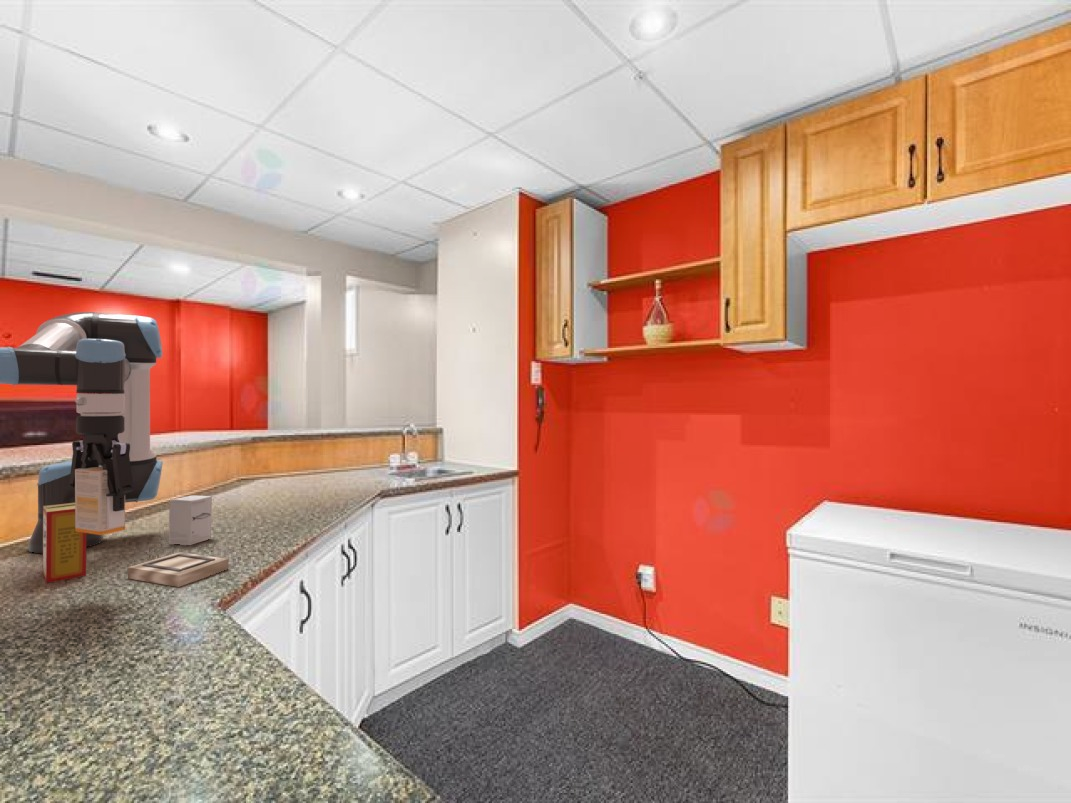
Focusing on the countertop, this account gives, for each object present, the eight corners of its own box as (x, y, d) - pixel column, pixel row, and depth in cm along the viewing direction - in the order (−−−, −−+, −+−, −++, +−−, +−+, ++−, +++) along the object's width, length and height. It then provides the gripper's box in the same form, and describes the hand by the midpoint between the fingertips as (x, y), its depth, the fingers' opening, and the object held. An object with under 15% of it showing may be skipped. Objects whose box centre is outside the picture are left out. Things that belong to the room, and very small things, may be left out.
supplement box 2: (190, 546, 138) (190, 500, 138) (167, 544, 139) (168, 499, 139) (212, 539, 145) (212, 495, 145) (191, 537, 146) (191, 494, 146)
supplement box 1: (126, 530, 103) (127, 467, 103) (100, 536, 99) (100, 470, 99) (100, 526, 106) (101, 464, 106) (73, 531, 102) (73, 468, 101)
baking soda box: (86, 575, 115) (86, 506, 115) (46, 582, 110) (46, 510, 110) (80, 566, 121) (80, 500, 121) (42, 572, 116) (43, 504, 116)
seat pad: (127, 578, 113) (127, 566, 113) (180, 562, 124) (180, 550, 124) (178, 587, 108) (178, 574, 108) (228, 569, 119) (228, 557, 119)
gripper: (45, 413, 102) (45, 524, 102) (115, 416, 95) (115, 534, 96) (88, 412, 109) (88, 515, 109) (156, 415, 102) (155, 525, 103)
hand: (100, 524), depth 103 cm, fingers closed on supplement box 1, 8 cm apart
